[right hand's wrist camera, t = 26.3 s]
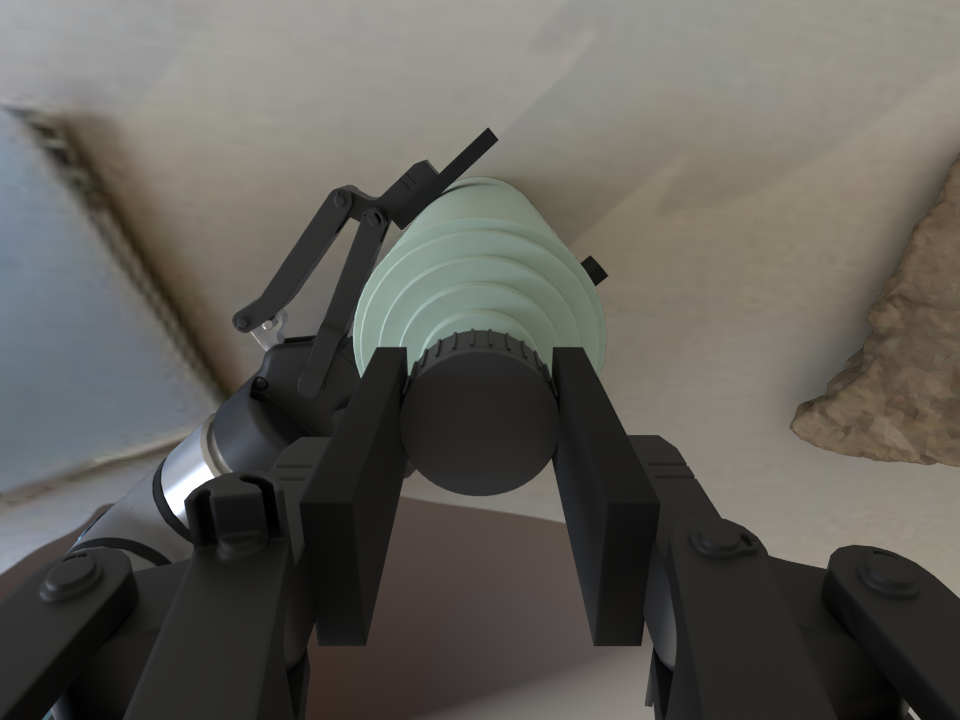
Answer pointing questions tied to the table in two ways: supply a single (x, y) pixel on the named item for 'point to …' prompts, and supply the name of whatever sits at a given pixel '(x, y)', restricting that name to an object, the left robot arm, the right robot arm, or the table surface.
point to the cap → (479, 413)
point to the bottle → (479, 280)
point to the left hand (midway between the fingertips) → (547, 202)
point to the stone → (903, 357)
